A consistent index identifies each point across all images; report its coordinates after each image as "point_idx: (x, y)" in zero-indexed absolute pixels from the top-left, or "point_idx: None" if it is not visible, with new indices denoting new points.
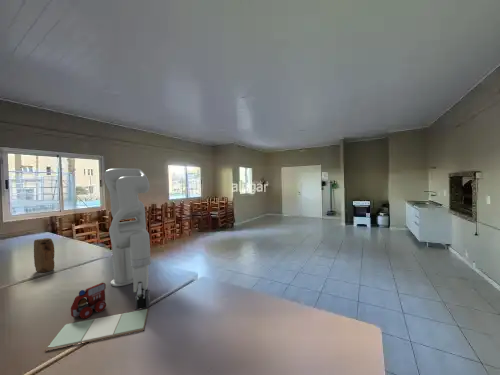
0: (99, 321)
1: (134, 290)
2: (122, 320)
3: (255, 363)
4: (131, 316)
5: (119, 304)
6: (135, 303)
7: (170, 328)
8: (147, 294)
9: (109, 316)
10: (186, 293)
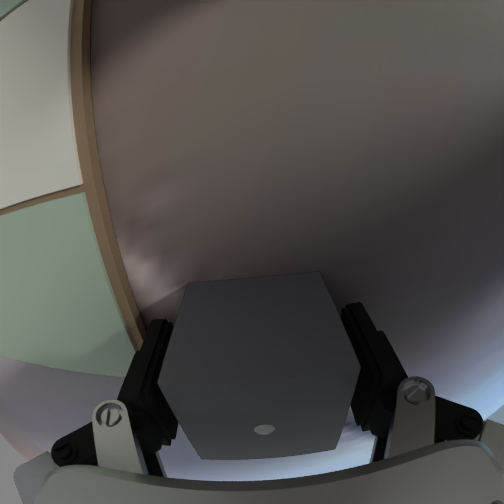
0: (18, 42)
1: (41, 496)
2: (4, 238)
3: (23, 454)
4: (46, 291)
5: (375, 70)
6: (174, 325)
7: (41, 415)
8: (226, 455)
9: (61, 76)
10: (315, 465)
